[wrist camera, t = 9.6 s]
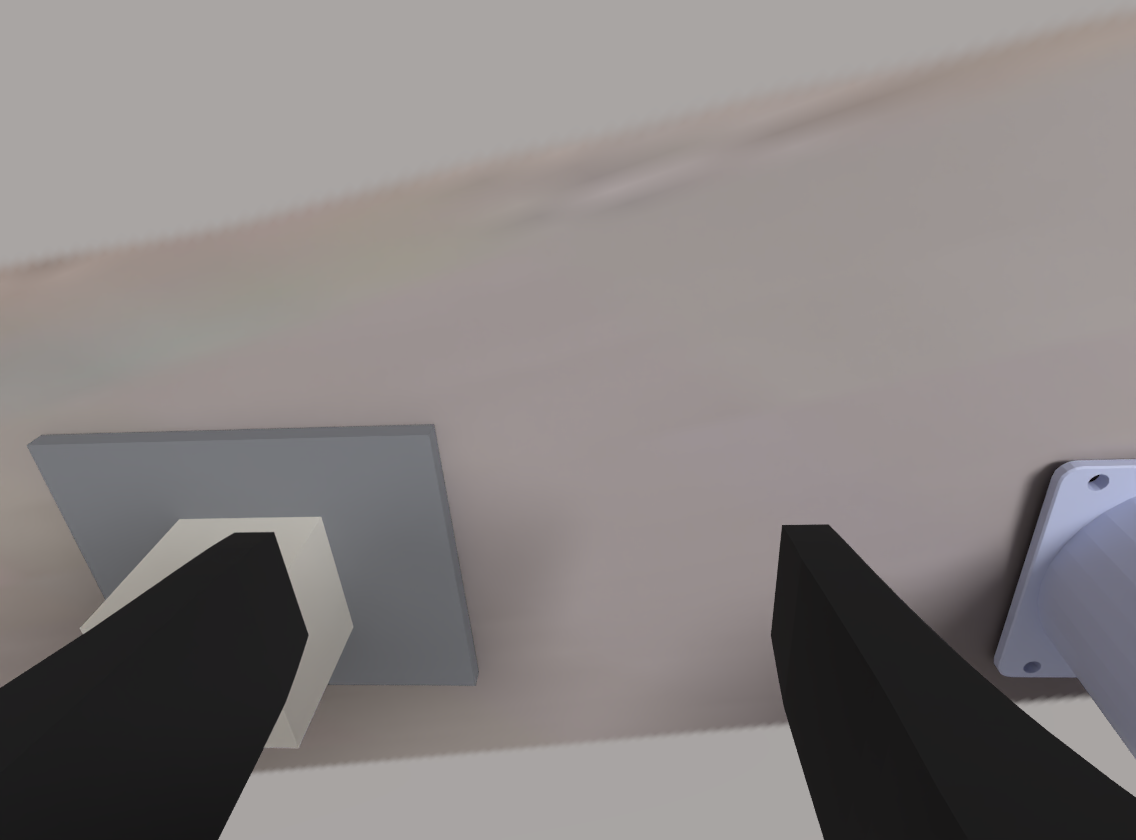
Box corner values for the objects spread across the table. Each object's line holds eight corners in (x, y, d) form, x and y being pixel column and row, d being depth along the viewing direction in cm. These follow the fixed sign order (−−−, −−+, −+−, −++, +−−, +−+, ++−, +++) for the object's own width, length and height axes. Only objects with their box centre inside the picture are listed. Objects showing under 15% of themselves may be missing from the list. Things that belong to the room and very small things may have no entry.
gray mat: (434, 424, 20) (428, 434, 19) (478, 671, 24) (475, 685, 24) (41, 435, 21) (26, 445, 20) (157, 670, 26) (148, 683, 25)
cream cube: (321, 516, 21) (252, 627, 17) (353, 626, 23) (299, 748, 19) (179, 519, 21) (79, 628, 17) (224, 627, 23) (144, 746, 19)
